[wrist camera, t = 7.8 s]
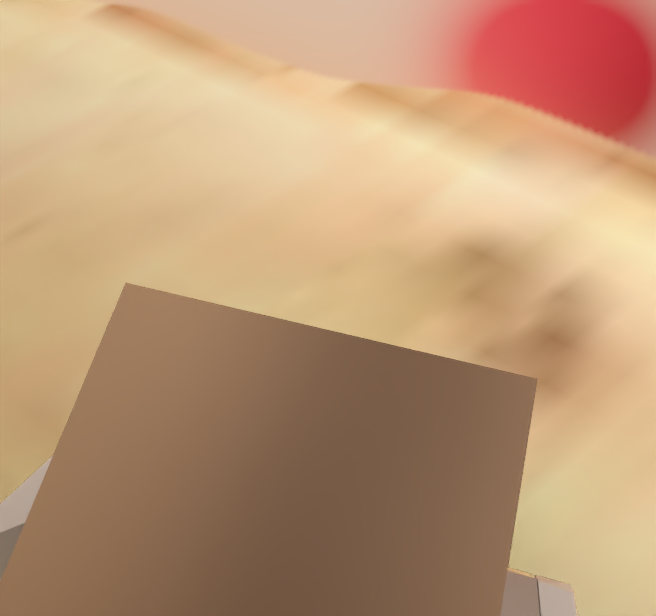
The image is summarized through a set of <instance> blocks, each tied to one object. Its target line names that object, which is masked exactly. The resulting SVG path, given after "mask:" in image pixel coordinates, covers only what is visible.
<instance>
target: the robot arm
mask: <svg viewBox="0 0 656 616" xmlns="http://www.w3.org/2000/svg"><path fill="white" fill-rule="evenodd" d="M52 457H53V456H51V457H50V458H49V459H48V460H47V461H46V462H45V463H44V464H43V465H42V466H41V467H39V468H38V469H37V470H36V471H35V472H34V473H33V474H32V475H31V476H30V477H29V478H27V479H26V480H25V481H24V482H23V483H22V484H21V485H20V486H19V487H18V488H17V489H15V490H14V491H13V492H12V493H11V494H10V495H9V496H8V497H7V498H6V499H5V500H3V501H2V502H1V503H0V581H1V578H2V576H3V574H4V571H5V569H6V567H7V564H8V562H9V559H10V557H11V555H12V552H13V550H14V547H15V545H16V543H17V540H18V538H19V536H20V533H21V531H22V528H23V526H24V524H25V521H26V519H27V517H28V514H29V512H30V509H31V507H32V505H33V502H34V500H35V498H36V495H37V493H38V490H39V488H40V486H41V483H42V481H43V478H44V476H45V474H46V471H47V469H48V467H49V464H50V462H51V459H52ZM500 616H578V614H577V608H576V602H575V595H574V591H573V589H572V587H571V586H570V584H566V583H562V582H559V581H555V580H552V579H548V578H544V577H541V576H537V575H534V576H533V575H532V574H530V573H526V572H523V571H519V570H515V569H512V568H508V569H507V576H506V582H505V588H504V595H503V601H502V607H501V614H500Z"/></svg>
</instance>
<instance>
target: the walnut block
mask: <svg viewBox="0 0 656 616" xmlns="http://www.w3.org/2000/svg"><path fill="white" fill-rule="evenodd" d="M536 384H537V379H535V378H531V377H527V376H522V375H518V374H514V373H510V372H505V371H501V370H497V369H492V368H488V367H484V366H480V365H475V364H471V363H467V362H463V361H458V360H454V359H450V358H445V357H441V356H437V355H433V354H428V353H424V352H420V351H415V350H411V349H407V348H403V347H398V346H394V345H390V344H385V343H381V342H377V341H373V340H368V339H364V338H360V337H355V336H351V335H347V334H343V333H338V332H334V331H330V330H325V329H321V328H317V327H313V326H308V325H304V324H300V323H295V322H291V321H287V320H283V319H278V318H274V317H270V316H265V315H261V314H257V313H253V312H248V311H244V310H240V309H235V308H231V307H227V306H223V305H218V304H214V303H210V302H205V301H201V300H197V299H193V298H188V297H184V296H180V295H175V294H171V293H167V292H163V291H158V290H154V289H150V288H145V287H141V286H137V285H133V284H128V283H125V286H124V288H123V291H122V293H121V295H120V298H119V300H118V302H117V305H116V307H115V310H114V312H113V314H112V317H111V319H110V321H109V324H108V326H107V329H106V331H105V333H104V336H103V338H102V341H101V343H100V345H99V348H98V350H97V352H96V355H95V357H94V360H93V362H92V364H91V367H90V369H89V371H88V374H87V376H86V379H85V381H84V383H83V386H82V388H81V390H80V393H79V395H78V398H77V400H76V402H75V405H74V407H73V410H72V412H71V414H70V417H69V419H68V421H67V424H66V426H65V429H64V431H63V433H62V436H61V438H60V440H59V443H58V445H57V448H56V450H55V452H54V455H53V457H52V459H51V462H50V464H49V467H48V469H47V471H46V474H45V476H44V478H43V481H42V483H41V486H40V488H39V490H38V493H37V495H36V498H35V500H34V502H33V505H32V507H31V509H30V512H29V514H28V517H27V519H26V521H25V524H24V526H23V528H22V531H21V533H20V536H19V538H18V540H17V543H16V545H15V547H14V550H13V552H12V555H11V557H10V559H9V562H8V564H7V567H6V569H5V571H4V574H3V576H2V578H1V581H0V616H500V614H501V607H502V601H503V595H504V588H505V582H506V576H507V569H508V563H509V556H510V550H511V544H512V537H513V531H514V525H515V518H516V512H517V505H518V499H519V493H520V486H521V480H522V474H523V467H524V461H525V454H526V448H527V442H528V435H529V429H530V423H531V416H532V410H533V403H534V397H535V391H536Z"/></svg>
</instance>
